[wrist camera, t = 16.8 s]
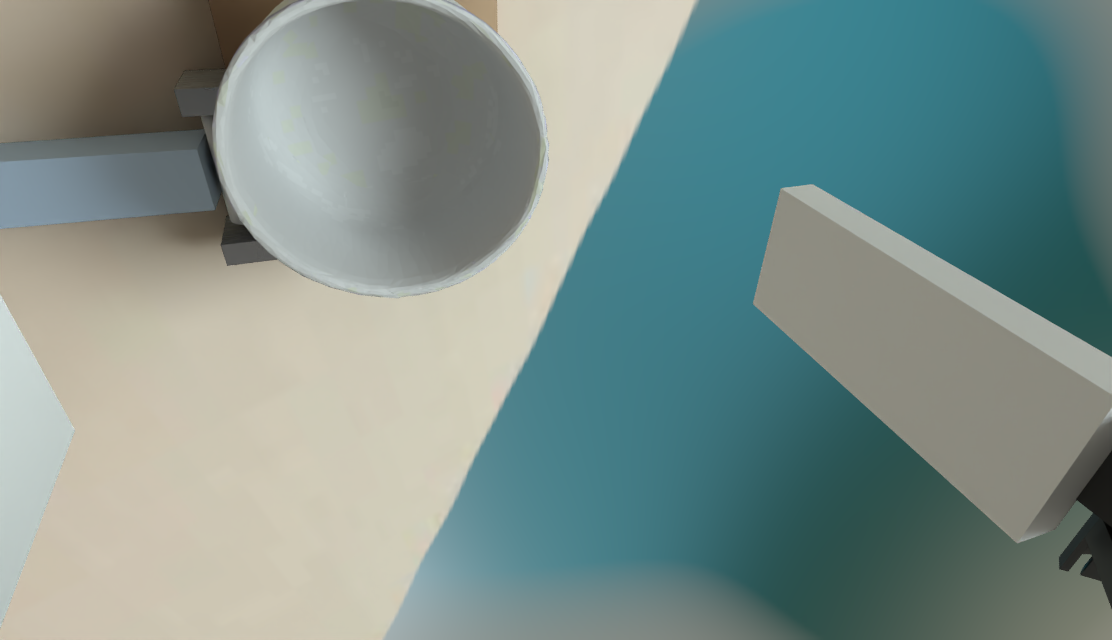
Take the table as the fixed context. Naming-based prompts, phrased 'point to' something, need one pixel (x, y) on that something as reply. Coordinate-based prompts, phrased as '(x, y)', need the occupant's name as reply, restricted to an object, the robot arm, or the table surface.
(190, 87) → the hinge cheek
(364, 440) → the table surface
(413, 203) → the teacup
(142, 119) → the table surface
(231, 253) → the hinge cheek
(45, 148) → the leg
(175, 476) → the table surface
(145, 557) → the table surface
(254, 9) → the board
